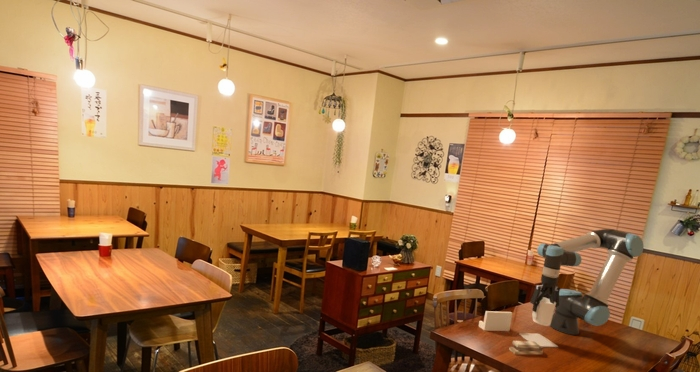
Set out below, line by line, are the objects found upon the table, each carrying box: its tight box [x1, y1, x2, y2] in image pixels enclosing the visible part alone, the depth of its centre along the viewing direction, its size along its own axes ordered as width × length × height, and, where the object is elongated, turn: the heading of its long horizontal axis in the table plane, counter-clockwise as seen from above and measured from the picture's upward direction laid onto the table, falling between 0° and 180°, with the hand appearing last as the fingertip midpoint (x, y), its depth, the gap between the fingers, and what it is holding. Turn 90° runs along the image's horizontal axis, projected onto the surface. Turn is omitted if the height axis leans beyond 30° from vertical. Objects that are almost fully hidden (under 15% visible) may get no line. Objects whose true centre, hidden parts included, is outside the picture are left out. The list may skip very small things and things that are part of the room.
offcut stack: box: [508, 340, 544, 355], centre depth 176 cm, size 16×5×4 cm, turn 106°
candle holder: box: [532, 296, 556, 327], centre depth 190 cm, size 10×10×12 cm
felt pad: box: [518, 332, 559, 348], centre depth 192 cm, size 13×13×1 cm
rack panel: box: [478, 310, 513, 332], centre depth 199 cm, size 16×5×10 cm, turn 106°
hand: (541, 317), depth 191 cm, fingers closed on candle holder, 9 cm apart
